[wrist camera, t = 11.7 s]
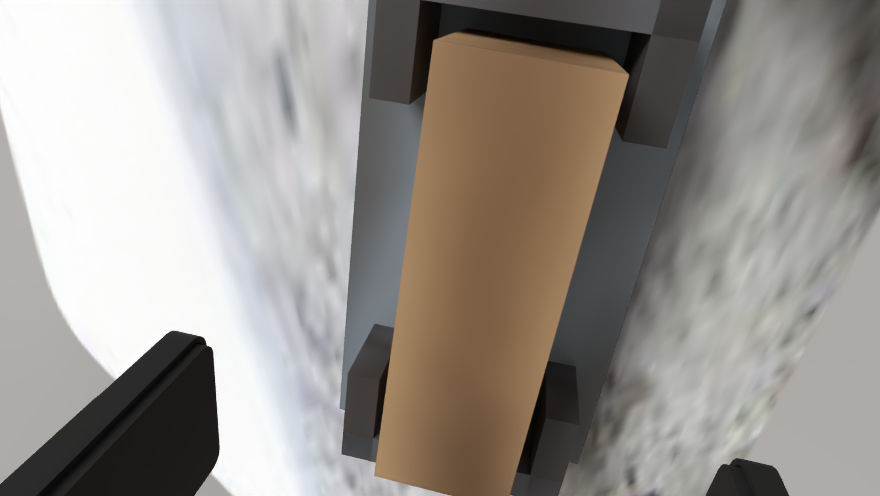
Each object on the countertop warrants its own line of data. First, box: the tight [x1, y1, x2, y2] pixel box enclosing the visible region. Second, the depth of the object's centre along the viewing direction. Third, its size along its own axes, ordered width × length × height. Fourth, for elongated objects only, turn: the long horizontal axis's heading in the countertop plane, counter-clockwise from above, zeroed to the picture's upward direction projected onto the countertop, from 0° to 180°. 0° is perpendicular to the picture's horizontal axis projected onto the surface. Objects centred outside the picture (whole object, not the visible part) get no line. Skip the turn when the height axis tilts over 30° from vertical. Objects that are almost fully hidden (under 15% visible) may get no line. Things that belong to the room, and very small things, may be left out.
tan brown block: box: [374, 28, 629, 496], centre depth 18 cm, size 4×14×6 cm, turn 171°
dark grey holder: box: [340, 0, 727, 496], centre depth 20 cm, size 11×20×5 cm, turn 172°
